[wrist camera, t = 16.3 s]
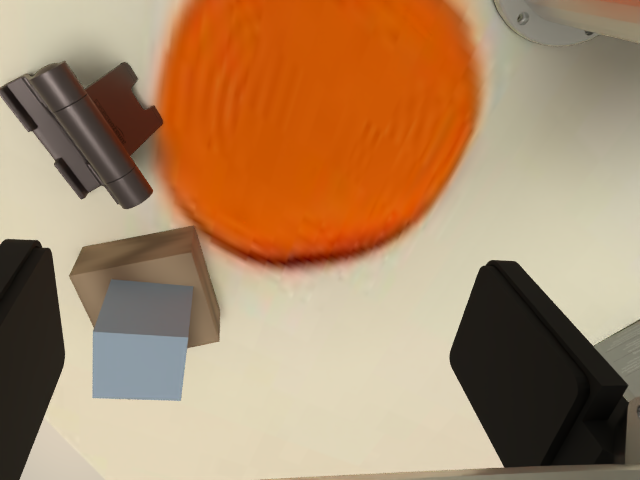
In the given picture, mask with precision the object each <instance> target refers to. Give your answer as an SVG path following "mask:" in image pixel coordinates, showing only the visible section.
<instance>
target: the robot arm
mask: <svg viewBox="0 0 640 480" xmlns="http://www.w3.org/2000/svg"><path fill="white" fill-rule="evenodd" d="M494 2H495V5H496V7H497V10H498V12H499V13H500V15H501V16H502V18H503V19H504V21H505V22H506V24H507V25H508V26H509V27H510V28H511V29H512V30H514V31H515V32H516V33H517V34H518V35H520V36H522V37H524V38H526V39H527V40H529V41H532V42H536V43H538V44H541V45H547V46H554V47H559V46H571V45H575V44H578V43H582V42H586V41H588V40H590V39H592V38H594V37H596V36H598V35H600V34H602V35H606V36H610V37H614V38H619V39H623V40H627V41H631V42H635V43H639V44H640V0H494ZM519 15H520V18H519V20H517V18H518V16H519ZM64 359H65V349H64V341H63V333H62V326H61V318H60V311H59V303H58V295H57V288H56V280H55V273H54V265H53V258H52V252H51V250H50V249H49V248H42V246H41V243H40V242H39V241H38V240H17V239H5V240H4V241H3V242H2V243H1V245H0V480H19V479H20V477H21V474H22V472H23V469H24V467H25V464H26V461H27V459H28V456H29V454H30V451H31V449H32V446H33V444H34V441H35V438H36V436H37V433H38V431H39V428H40V425H41V423H42V420H43V418H44V415H45V413H46V410H47V408H48V405H49V402H50V400H51V397H52V395H53V392H54V390H55V387H56V385H57V382H58V379H59V377H60V374H61V372H62V369H63V365H64ZM450 364H451V367H452V369H453V371H454V373H455V375H456V377H457V379H458V381H459V382H460V384H461V386H462V388H463V390H464V392H465V394H466V396H467V398H468V399H469V401H470V403H471V405H472V407H473V409H474V411H475V413H476V415H477V416H478V418H479V420H480V422H481V424H482V426H483V428H484V430H485V432H486V433H487V435H488V437H489V439H490V441H491V443H492V445H493V447H494V449H495V451H496V452H497V454H498V456H499V458H500V460H501V462H502V464H503V466H504V468H486V469H463V470H441V471H419V472H399V473H379V474H359V475H339V476H320V477H300V478H281V479H262V480H640V397H635V398H634V399H632V400H631V401H630V402H628V401H627V400H626V399H625V398H624V397H623V394H624V392H625V391H626V389H627V387H628V386H629V385H628V384H627V383H626V382H625V381H624V380H623V378H622V377H621V376H620V375H619V374H618V373H617V372H616V371H615V370H614V369H613V367H612V366H611V365H610V364H609V363H608V362H607V361H606V360H605V359H604V358H603V356H602V355H601V354H600V353H599V352H598V351H597V350H596V349H595V348H594V347H593V345H592V344H591V343H590V342H589V341H588V340H587V339H586V338H585V337H584V336H583V334H582V333H581V332H580V331H579V330H578V329H577V328H576V327H575V326H574V325H573V323H572V322H571V321H570V320H569V319H568V318H567V317H566V316H565V315H564V314H563V312H562V311H561V310H560V309H559V308H558V307H557V306H556V305H555V304H554V303H553V301H552V300H551V299H550V298H549V297H548V296H547V295H546V294H545V293H544V292H543V290H542V289H541V288H540V287H539V286H538V285H537V284H536V283H535V282H534V281H533V279H532V278H531V277H530V276H529V275H528V274H527V273H526V272H525V271H524V270H523V268H522V267H521V266H520V265H519V264H518V263H517V262H515V261H500V260H491V261H489V262H488V263H487V264H486V266H482V267H481V268H480V270H479V272H478V275H477V277H476V280H475V283H474V286H473V289H472V291H471V294H470V297H469V300H468V303H467V306H466V308H465V311H464V314H463V317H462V320H461V323H460V325H459V328H458V331H457V334H456V337H455V339H454V342H453V345H452V348H451V351H450Z"/></svg>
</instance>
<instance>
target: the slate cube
mask: <svg viewBox="0 0 640 480" xmlns="http://www.w3.org/2000/svg"><path fill="white" fill-rule="evenodd" d="M192 295H193V286H184V285H172V284H160V283H149V282H137V281H125V280H113V279H111V281H110V284H109V287H108V290H107V293H106V296H105V299H104V302H103V304H102V307H101V310H100V313H99V316H98V319H97V322H96V324H95V327H94V330H93V398H109V399H142V400H174V401H181V394H182V386H183V377H184V369H185V360H186V352H187V344H188V335H189V325H190V315H191V305H192Z"/></svg>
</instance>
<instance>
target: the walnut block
mask: <svg viewBox="0 0 640 480" xmlns="http://www.w3.org/2000/svg"><path fill="white" fill-rule="evenodd" d="M69 277H70V279H71V281H72V283H73V285H74V287H75V289H76V291H77V294H78V296H79V298H80V300H81V302H82V304H83V306H84V308H85V310H86V312H87V314H88V316H89V318H90V320H91V323H92V325H93V327H95V324H96V322H97V319H98V316H99V313H100V310H101V307H102V304H103V302H104V299H105V296H106V293H107V290H108V287H109V284H110V281H111V279H113V280H125V281H137V282H149V283H160V284H172V285H184V286H193V295H192V305H191V315H190V325H189V335H188V344H187V348H190V347H195V346H200V345H205V344H209V343H214V342H219V333H220V309H219V306H218V303H217V299H216V296H215V293H214V289H213V286H212V283H211V279H210V276H209V273H208V270H207V266H206V263H205V260H204V256H203V253H202V250H201V246H200V243H199V240H198V237H197V233H196V230H195V227H194V226H190V227H185V228H180V229H174V230H169V231H164V232H159V233H153V234H148V235H143V236H138V237H132V238H127V239H122V240H117V241H112V242H106V243H101V244H96V245H91V246H85V247H83V248H82V250H81V252H80V254H79V256H78V259H77V261H76V263H75V265H74V267H73V269H72V271H71V273H70V275H69Z"/></svg>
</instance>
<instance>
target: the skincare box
mask: <svg viewBox="0 0 640 480" xmlns="http://www.w3.org/2000/svg"><path fill="white" fill-rule="evenodd" d="M594 348H595V349H596V350H597V351H598V352H599V353H600V354H601V355H602V356H603V358H604V359H605V360H606V361H607V362H608V363H609V364H610V365H611V366H612V367H613V369H614V370H615V371H616V372H617V373H618V374H619V375H620V376H621V377H622V378H623V380H624V381H625V382H626V383H627V384H628V385H629V386H628V387H627V389H626V391H625V392H624V394H623V396H624V397H625V398H626V399H627V401H628V402H630V401H631V400H632V399H634V398H635V397H640V321H638V322H636V323H634V324H633V325H631V326H629V327H627V328H625V329H624V330H622V331H620V332H618V333H616V334H614V335H612V336H611V337H609V338H607V339H605V340H603V341H601V342H600V343H598V344H596V345H595V346H594Z"/></svg>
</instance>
